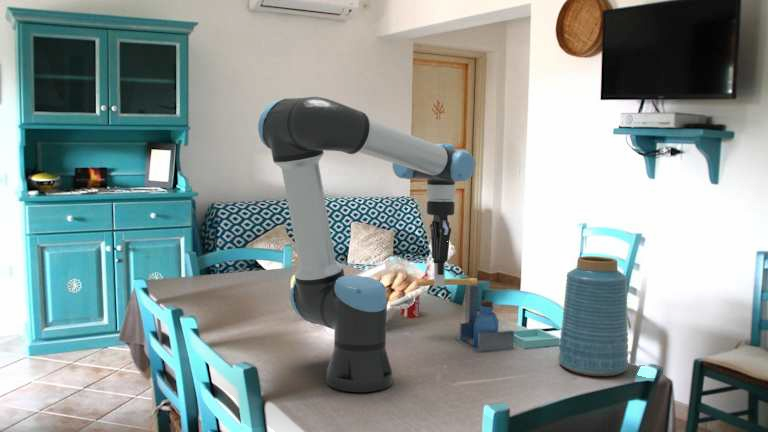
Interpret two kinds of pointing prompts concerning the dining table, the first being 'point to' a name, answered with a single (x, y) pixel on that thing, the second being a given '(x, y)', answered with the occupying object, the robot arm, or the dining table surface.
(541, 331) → the tray
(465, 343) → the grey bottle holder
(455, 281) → the bar
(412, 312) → the beverage can
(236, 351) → the dining table surface
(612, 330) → the vase
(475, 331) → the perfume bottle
